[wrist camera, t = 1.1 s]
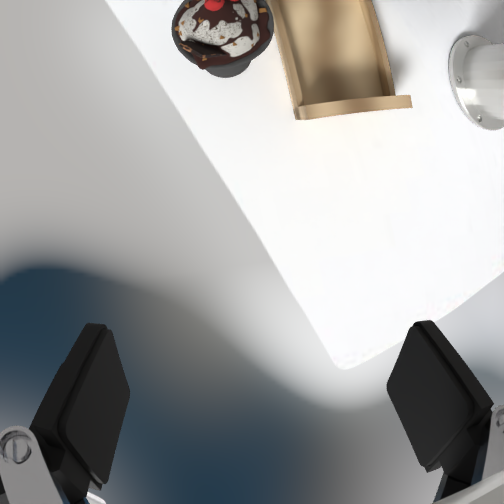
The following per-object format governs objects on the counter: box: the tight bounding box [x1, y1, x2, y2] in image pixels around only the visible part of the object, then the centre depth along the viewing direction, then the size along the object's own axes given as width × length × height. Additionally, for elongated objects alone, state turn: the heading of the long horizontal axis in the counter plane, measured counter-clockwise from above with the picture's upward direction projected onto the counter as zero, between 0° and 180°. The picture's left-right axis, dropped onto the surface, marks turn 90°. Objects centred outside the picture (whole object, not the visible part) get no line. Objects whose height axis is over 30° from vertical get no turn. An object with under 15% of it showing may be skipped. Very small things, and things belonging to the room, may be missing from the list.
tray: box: [265, 0, 412, 120], centre depth 22 cm, size 10×14×5 cm
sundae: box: [172, 0, 274, 78], centre depth 18 cm, size 7×7×15 cm
